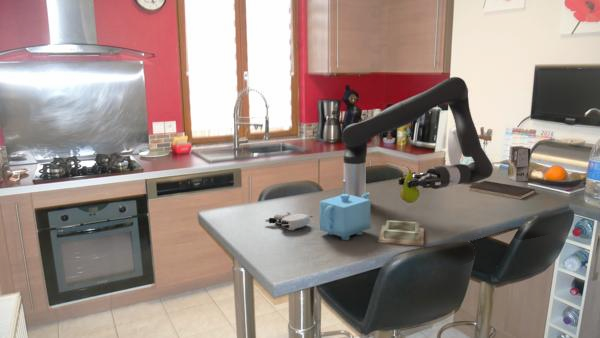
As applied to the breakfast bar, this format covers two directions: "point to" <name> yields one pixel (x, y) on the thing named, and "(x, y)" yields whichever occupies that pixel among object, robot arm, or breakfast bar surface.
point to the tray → (402, 233)
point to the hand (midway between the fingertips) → (403, 183)
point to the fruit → (409, 190)
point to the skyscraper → (453, 148)
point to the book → (502, 189)
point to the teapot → (345, 215)
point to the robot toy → (290, 220)
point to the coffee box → (519, 163)
